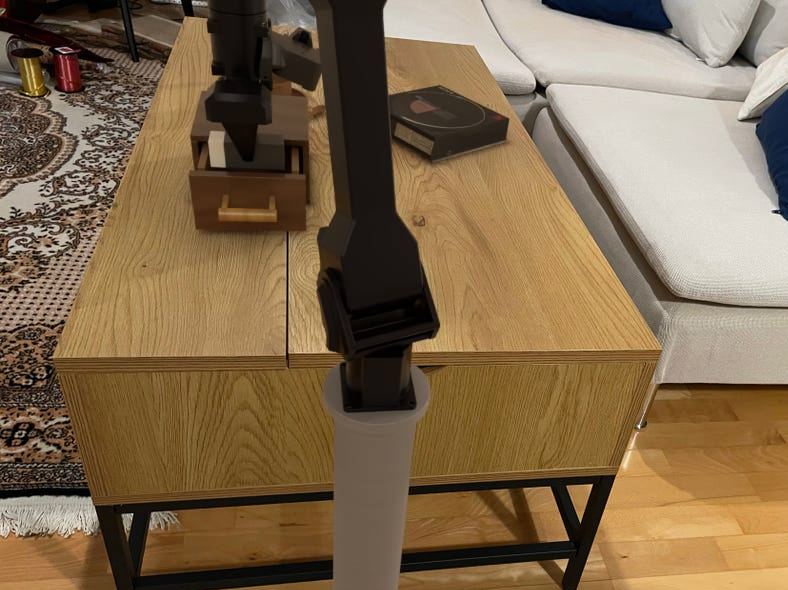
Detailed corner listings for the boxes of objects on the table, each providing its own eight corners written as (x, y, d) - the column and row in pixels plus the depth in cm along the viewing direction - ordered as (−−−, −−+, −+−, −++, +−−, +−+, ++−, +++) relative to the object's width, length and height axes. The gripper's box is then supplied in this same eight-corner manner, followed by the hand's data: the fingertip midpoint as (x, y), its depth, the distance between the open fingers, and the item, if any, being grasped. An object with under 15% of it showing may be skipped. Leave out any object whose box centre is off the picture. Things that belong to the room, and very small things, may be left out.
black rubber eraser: (284, 169, 81) (283, 145, 79) (210, 167, 79) (208, 141, 77) (284, 158, 83) (283, 134, 81) (213, 155, 81) (210, 130, 79)
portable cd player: (360, 124, 113) (361, 100, 111) (437, 107, 124) (440, 84, 121) (429, 163, 105) (432, 138, 103) (505, 142, 116) (509, 118, 113)
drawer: (307, 252, 80) (306, 198, 76) (191, 251, 77) (183, 195, 73) (304, 180, 94) (303, 131, 90) (206, 177, 91) (199, 126, 87)
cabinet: (310, 204, 91) (309, 140, 86) (198, 201, 88) (189, 134, 82) (307, 156, 102) (306, 96, 96) (208, 152, 98) (201, 90, 93)
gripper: (322, 42, 66) (323, 194, 75) (317, -9, 80) (318, 126, 89) (195, 32, 63) (213, 191, 73) (212, -19, 77) (225, 121, 87)
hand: (248, 154), depth 80 cm, fingers closed on black rubber eraser, 3 cm apart
